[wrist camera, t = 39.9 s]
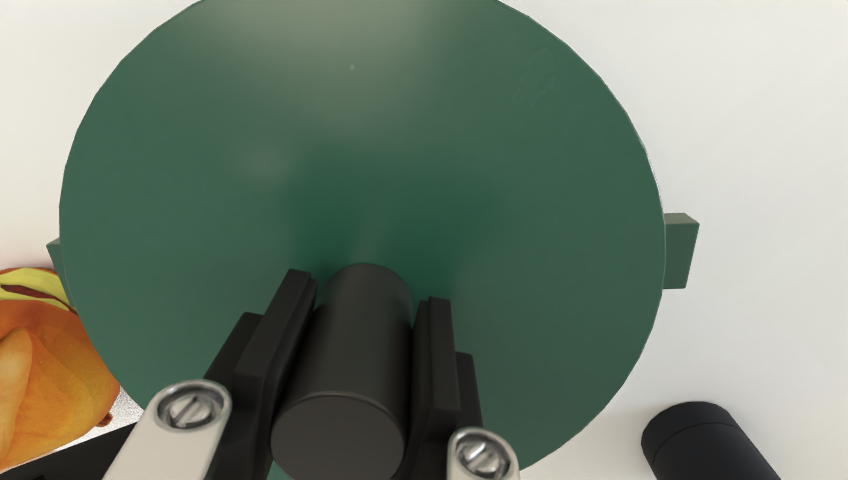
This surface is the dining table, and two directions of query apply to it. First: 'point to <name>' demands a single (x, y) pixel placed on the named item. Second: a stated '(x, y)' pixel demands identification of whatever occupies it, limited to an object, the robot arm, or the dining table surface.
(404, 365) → the lid
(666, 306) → the dining table surface
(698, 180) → the dining table surface
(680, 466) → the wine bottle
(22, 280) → the cheeseburger
